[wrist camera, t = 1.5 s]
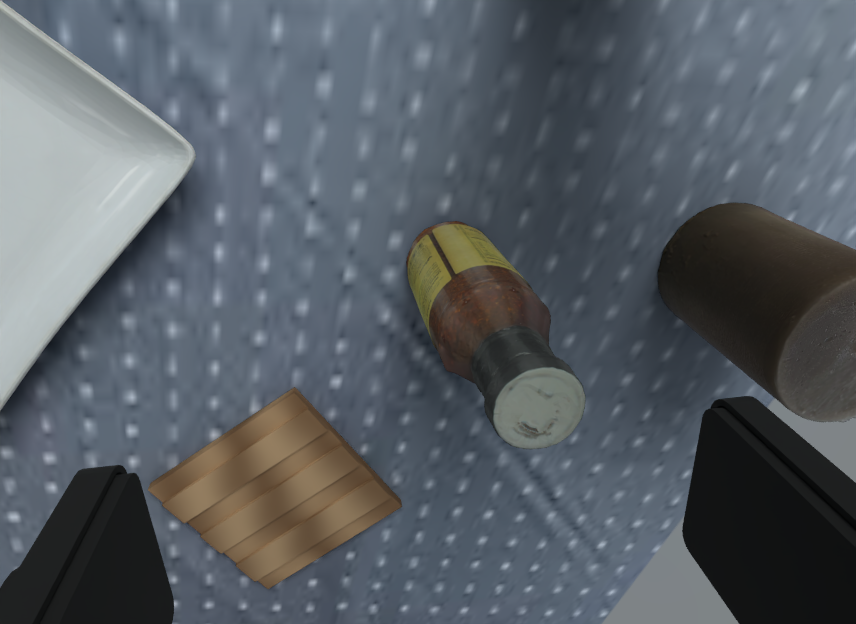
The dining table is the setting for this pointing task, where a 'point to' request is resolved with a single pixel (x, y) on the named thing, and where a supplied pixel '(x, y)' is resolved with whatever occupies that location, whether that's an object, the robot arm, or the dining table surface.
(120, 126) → the square plate
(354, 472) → the trivet
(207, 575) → the dining table surface
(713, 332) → the pillar candle
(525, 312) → the sauce bottle
